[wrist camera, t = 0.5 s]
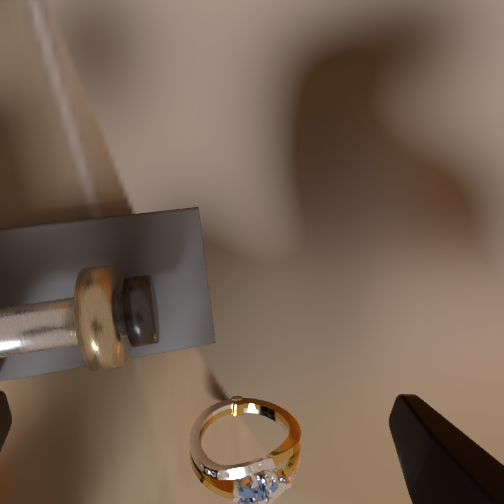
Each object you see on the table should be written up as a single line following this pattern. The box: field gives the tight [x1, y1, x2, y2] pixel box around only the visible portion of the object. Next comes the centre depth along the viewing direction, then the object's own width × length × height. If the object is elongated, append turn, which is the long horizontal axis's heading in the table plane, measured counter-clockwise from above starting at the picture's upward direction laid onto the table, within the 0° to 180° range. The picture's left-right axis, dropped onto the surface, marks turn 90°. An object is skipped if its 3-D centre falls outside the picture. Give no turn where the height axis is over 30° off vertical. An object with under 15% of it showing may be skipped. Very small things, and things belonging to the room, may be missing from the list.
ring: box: [190, 396, 301, 504], centre depth 22 cm, size 7×3×8 cm, turn 86°
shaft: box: [0, 264, 160, 371], centre depth 18 cm, size 12×5×5 cm, turn 95°
